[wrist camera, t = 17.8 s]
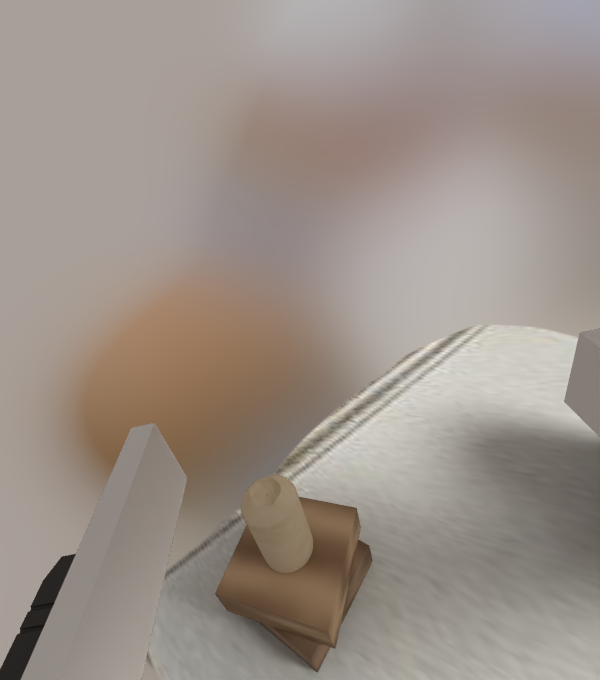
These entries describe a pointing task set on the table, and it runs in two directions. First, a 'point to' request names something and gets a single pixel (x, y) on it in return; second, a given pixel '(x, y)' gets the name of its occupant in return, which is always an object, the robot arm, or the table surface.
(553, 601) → the table surface
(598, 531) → the table surface
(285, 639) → the tower base
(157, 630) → the table surface
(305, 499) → the tower top
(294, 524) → the candle
